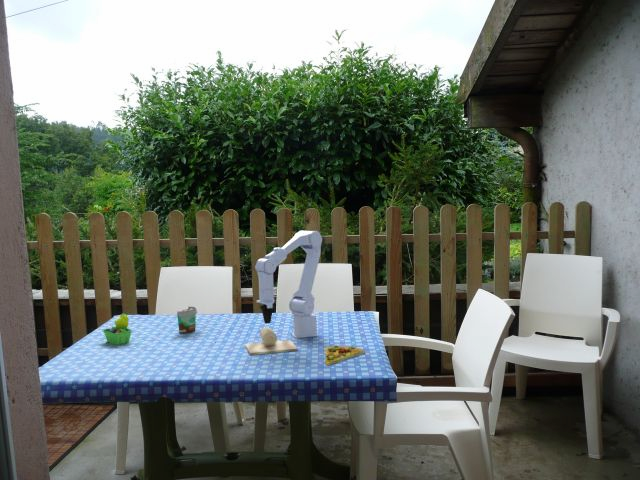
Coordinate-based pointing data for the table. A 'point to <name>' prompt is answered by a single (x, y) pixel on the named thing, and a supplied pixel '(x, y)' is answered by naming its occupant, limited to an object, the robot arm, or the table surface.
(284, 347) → the board
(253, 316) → the table surface
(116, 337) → the green potted plant
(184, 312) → the food container
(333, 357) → the pizza slice
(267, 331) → the candle
